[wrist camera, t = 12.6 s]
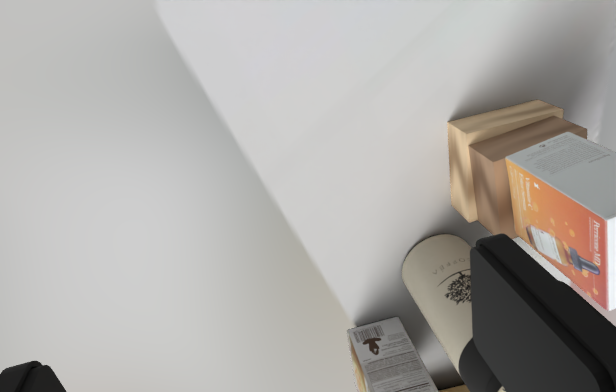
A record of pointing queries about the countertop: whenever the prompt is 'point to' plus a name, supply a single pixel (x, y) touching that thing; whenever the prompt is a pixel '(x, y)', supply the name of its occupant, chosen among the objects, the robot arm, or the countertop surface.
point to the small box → (569, 209)
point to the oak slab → (479, 130)
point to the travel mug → (449, 304)
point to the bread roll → (456, 389)
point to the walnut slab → (493, 169)
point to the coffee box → (387, 359)
